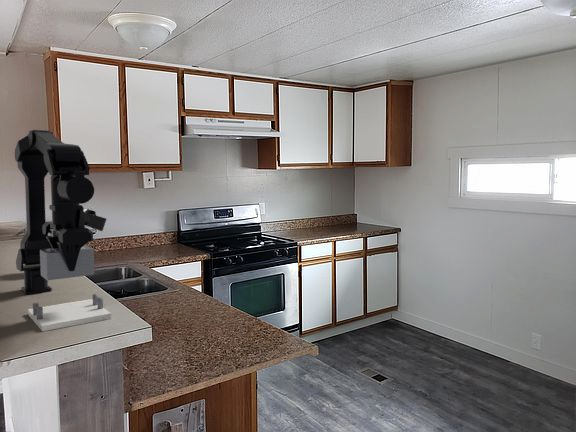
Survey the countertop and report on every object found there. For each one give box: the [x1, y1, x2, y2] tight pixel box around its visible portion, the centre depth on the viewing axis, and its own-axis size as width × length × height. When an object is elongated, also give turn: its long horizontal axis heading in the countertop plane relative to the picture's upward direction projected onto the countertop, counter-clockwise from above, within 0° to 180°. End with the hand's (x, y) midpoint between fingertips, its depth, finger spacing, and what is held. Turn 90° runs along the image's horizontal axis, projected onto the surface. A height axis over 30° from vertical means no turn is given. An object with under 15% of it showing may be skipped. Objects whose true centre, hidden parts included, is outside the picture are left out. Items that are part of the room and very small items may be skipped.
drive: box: [40, 244, 96, 282], centre depth 108 cm, size 6×10×6 cm, turn 130°
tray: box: [27, 293, 112, 332], centre depth 109 cm, size 14×14×4 cm
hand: (67, 268), depth 108 cm, fingers closed on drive, 6 cm apart
